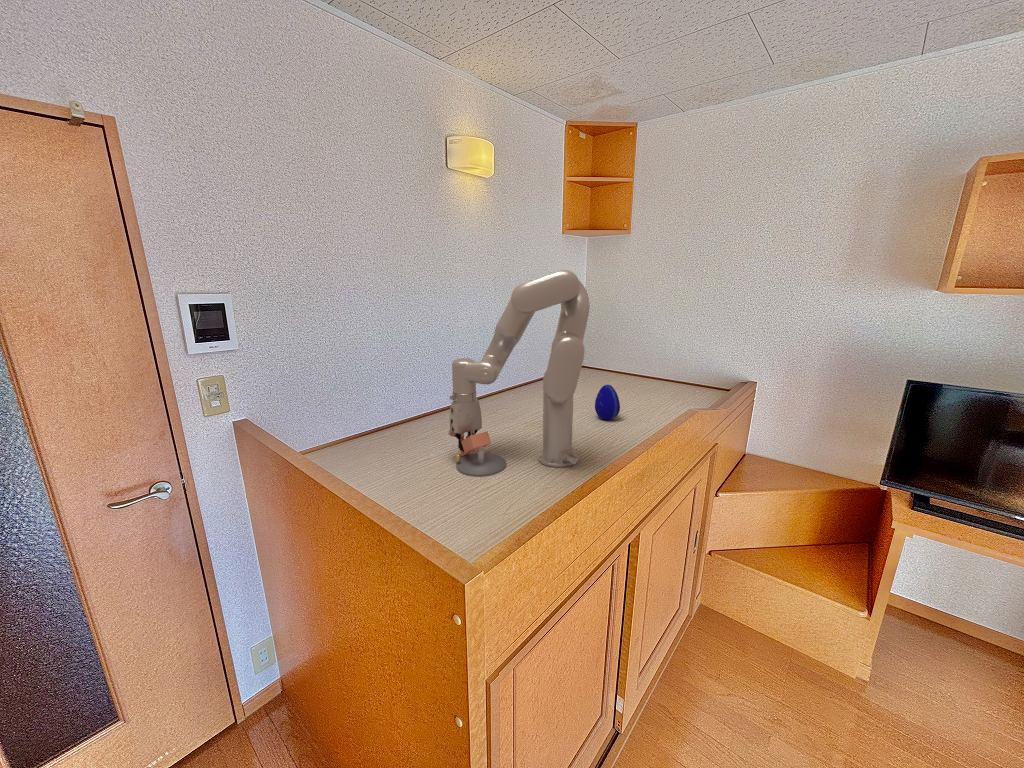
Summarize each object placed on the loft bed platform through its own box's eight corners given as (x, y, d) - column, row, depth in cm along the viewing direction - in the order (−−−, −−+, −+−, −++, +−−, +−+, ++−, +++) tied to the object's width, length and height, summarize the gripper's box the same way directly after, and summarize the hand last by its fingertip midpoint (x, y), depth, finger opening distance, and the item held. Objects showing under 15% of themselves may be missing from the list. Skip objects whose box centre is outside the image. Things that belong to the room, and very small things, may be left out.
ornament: (623, 421, 172) (625, 386, 168) (604, 424, 169) (606, 388, 165) (607, 413, 182) (609, 380, 178) (589, 416, 179) (591, 382, 175)
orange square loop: (491, 443, 131) (487, 431, 132) (473, 448, 127) (469, 435, 128) (472, 453, 141) (469, 442, 142) (455, 458, 137) (452, 446, 138)
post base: (516, 466, 130) (515, 445, 129) (473, 481, 121) (472, 458, 119) (487, 451, 143) (487, 431, 141) (446, 463, 133) (445, 442, 132)
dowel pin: (461, 463, 131) (460, 454, 131) (457, 464, 131) (457, 455, 130) (459, 462, 132) (458, 453, 132) (455, 463, 132) (455, 454, 131)
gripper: (448, 403, 126) (450, 459, 130) (491, 395, 135) (491, 447, 140) (437, 398, 131) (439, 451, 136) (478, 390, 141) (479, 440, 145)
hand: (466, 449), depth 138 cm, fingers closed on orange square loop, 2 cm apart
